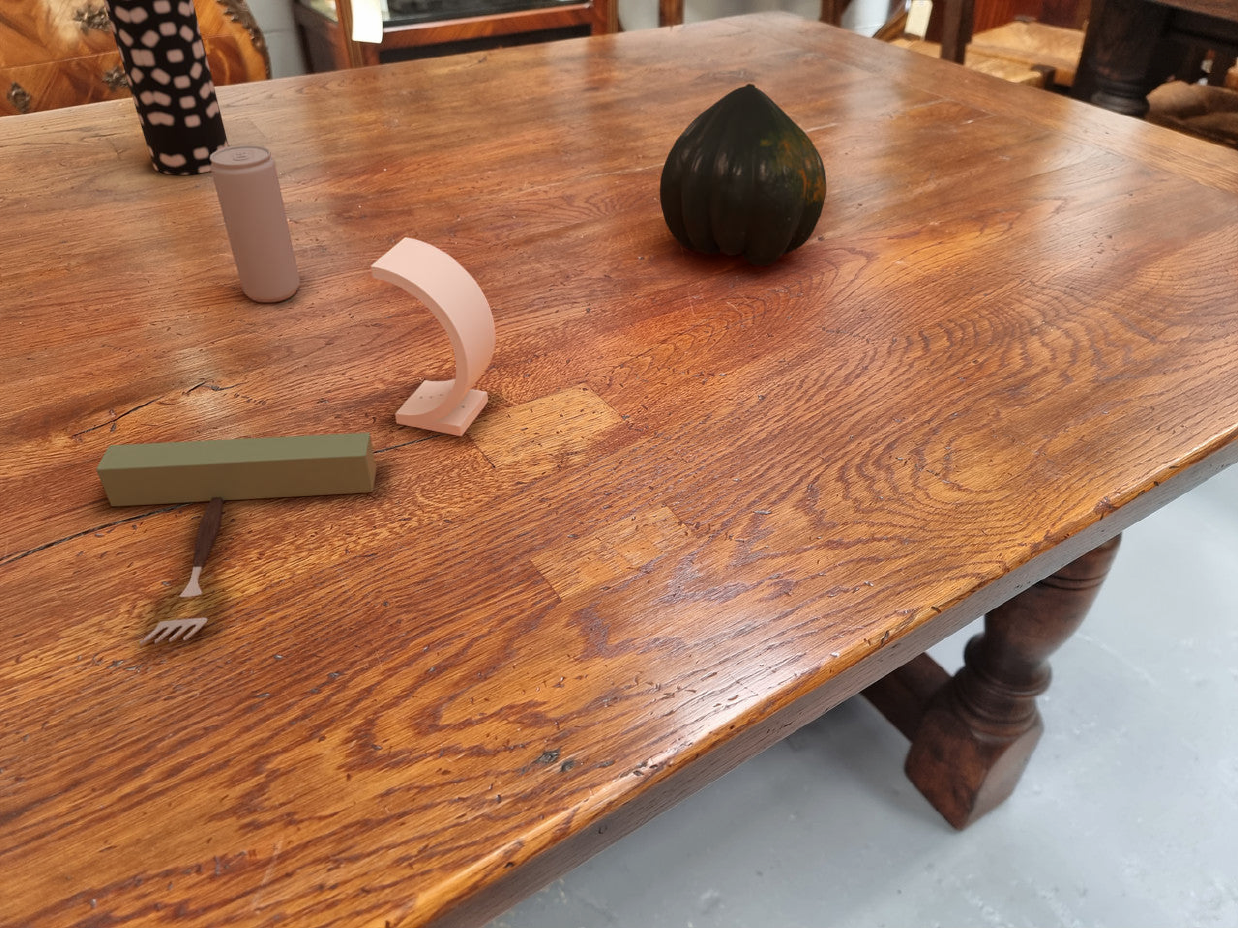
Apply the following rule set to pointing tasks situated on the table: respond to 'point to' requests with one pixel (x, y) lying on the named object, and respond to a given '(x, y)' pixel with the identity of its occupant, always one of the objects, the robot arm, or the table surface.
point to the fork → (195, 571)
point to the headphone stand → (462, 320)
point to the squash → (743, 180)
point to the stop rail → (238, 469)
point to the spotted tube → (169, 82)
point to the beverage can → (256, 221)
